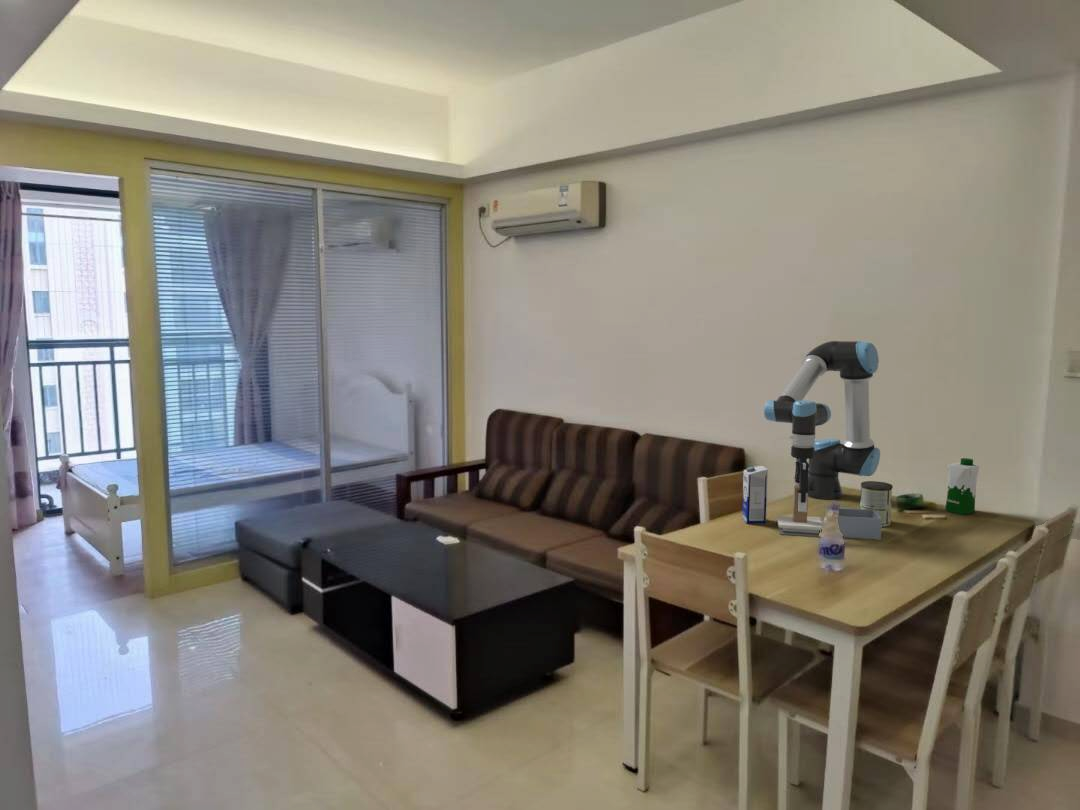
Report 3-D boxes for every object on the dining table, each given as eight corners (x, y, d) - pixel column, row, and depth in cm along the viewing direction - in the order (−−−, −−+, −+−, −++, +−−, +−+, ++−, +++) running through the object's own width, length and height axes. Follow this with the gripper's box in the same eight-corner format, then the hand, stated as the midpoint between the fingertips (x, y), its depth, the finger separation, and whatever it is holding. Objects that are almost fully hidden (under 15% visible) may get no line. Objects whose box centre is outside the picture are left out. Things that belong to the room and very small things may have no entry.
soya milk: (978, 513, 274) (982, 460, 272) (962, 516, 271) (966, 462, 268) (956, 507, 282) (960, 456, 280) (940, 510, 279) (944, 458, 276)
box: (830, 526, 258) (831, 507, 257) (873, 529, 254) (874, 509, 253) (835, 536, 246) (836, 516, 245) (880, 539, 243) (881, 519, 242)
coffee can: (854, 518, 268) (856, 480, 266) (884, 519, 267) (886, 481, 265) (864, 526, 258) (866, 487, 256) (894, 527, 257) (897, 487, 255)
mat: (776, 521, 264) (776, 520, 264) (817, 524, 260) (817, 523, 260) (780, 534, 248) (780, 533, 248) (823, 537, 245) (823, 536, 245)
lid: (776, 521, 262) (777, 481, 260) (819, 524, 259) (821, 484, 257) (778, 531, 250) (780, 490, 248) (824, 534, 247) (826, 492, 245)
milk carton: (765, 523, 261) (767, 468, 259) (746, 523, 261) (748, 468, 259) (760, 518, 268) (762, 464, 266) (741, 518, 268) (743, 464, 266)
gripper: (788, 439, 264) (786, 496, 266) (794, 452, 240) (792, 515, 242) (810, 440, 262) (807, 498, 265) (819, 453, 238) (816, 516, 241)
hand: (800, 506), depth 253 cm, fingers open, 13 cm apart
